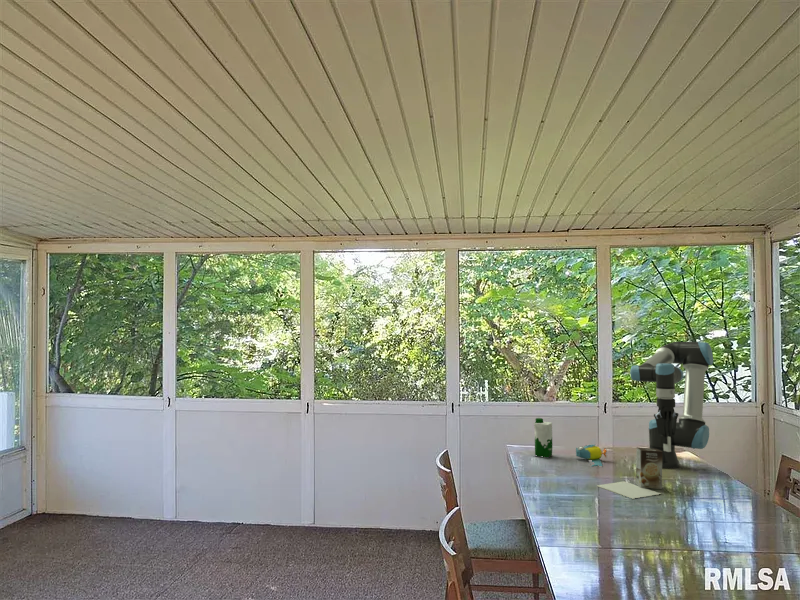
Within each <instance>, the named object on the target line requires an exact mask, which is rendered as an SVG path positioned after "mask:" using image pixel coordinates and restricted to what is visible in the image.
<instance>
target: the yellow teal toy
mask: <svg viewBox="0 0 800 600" xmlns="http://www.w3.org/2000/svg"><path fill="white" fill-rule="evenodd" d="M575 456H576V457H577V458H581V459H583V460H584V459H585V460H587V459H588V460H592V462H594V463H595V464H594V465H592V466H591V467H594V466H598V465H599V466H603V462H602V461H601V458H602V456H604V457H605V458H607V449H606V447H605V448H604V449H603V451H602V449H601V448H600V447H599V446H597V445H596V444H586V445H584V446H579V447H575ZM588 460H587V461H588Z"/></svg>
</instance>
